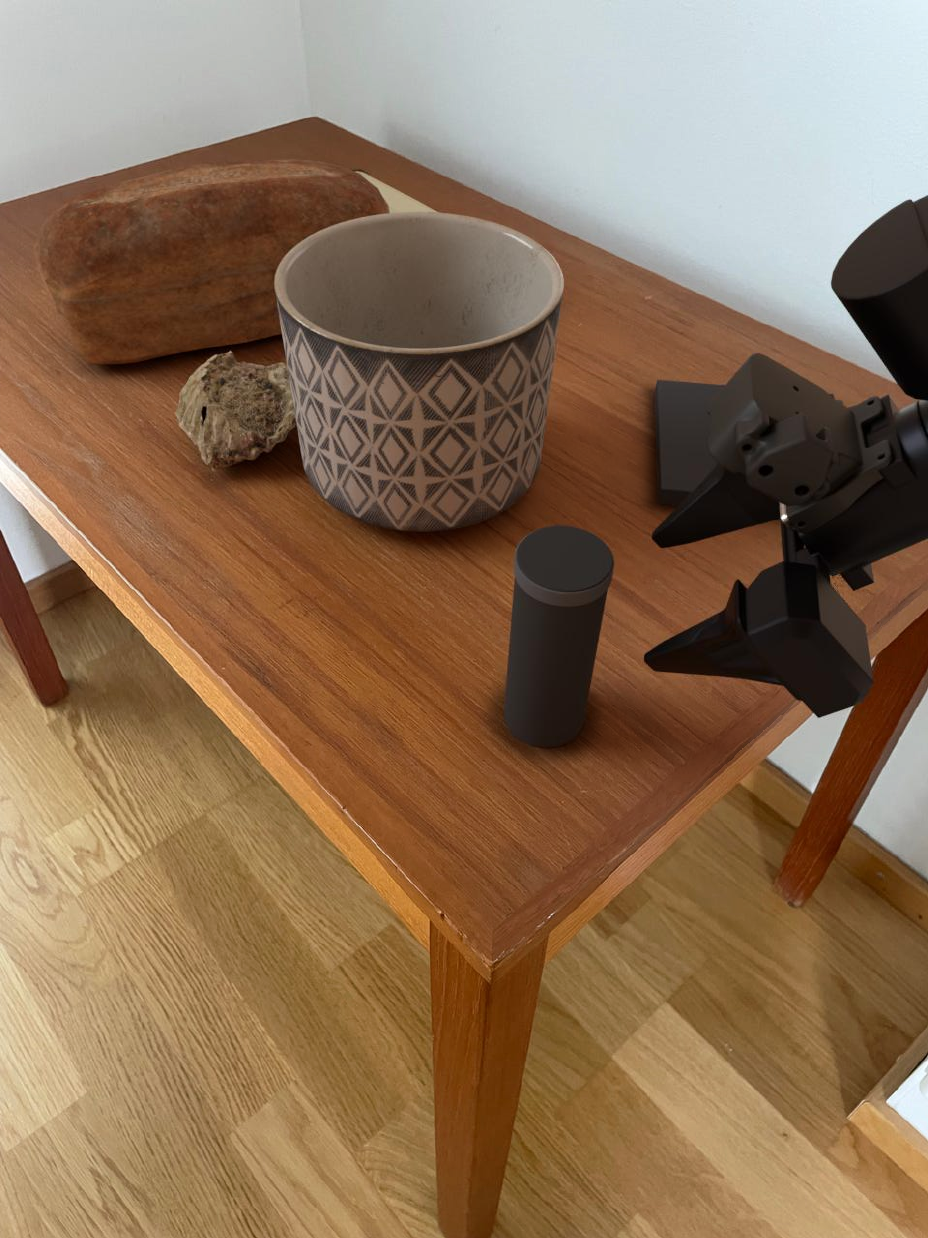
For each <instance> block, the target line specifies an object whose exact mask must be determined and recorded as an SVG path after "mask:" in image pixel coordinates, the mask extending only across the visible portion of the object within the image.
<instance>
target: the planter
mask: <svg viewBox="0 0 928 1238" xmlns="http://www.w3.org/2000/svg"><path fill="white" fill-rule="evenodd" d="M564 284H565V280H564V275H563V271H562V269H561V267H560V265H559V263H558V261H557V260H556V259H555V257H554V256H553V255H552V254H551V253H550V252H549V251H548V250H547V248H545V247H544V246H543V245H541V244H540V243H539V242H538V241H536V240H535V239H532V238H531V237H529V236H528V235H526V234H524V233H522V232H520V231H518V230H516V229H514V228H511V227H509V226H506V225H503V224H500V223H497V222H494V221H491V220H487V219H483V218H478V217H475V216H469V215H463V214H456V213H448V212H438V211H437V212H398V213H387V214H379V215H372V216H367V217H362V218H357V219H353V220H349V221H345V222H342V223H339V224H336V225H333V226H330V227H328V228H325V229H323V230H321V231H319V232H316V233H315V234H313V235H311V236H309V237H307V238H306V239H304V240H302V241H301V242H300V243H298V244H297V245H296V246H294V247H293V248H292V249H291V250H290V251H289V252H288V253H287V254H286V255H285V257H284V258H283V259H282V261H281V262H280V264H279V266H278V268H277V271H276V274H275V280H274V285H275V293H276V299H277V305H278V311H279V318H280V324H281V330H282V334H281V336H282V342H283V347H284V348H283V349H284V354H285V362H286V365H287V367H288V374H289V380H290V386H291V392H292V399H293V405H294V411H295V417H296V424H297V426H296V428H297V429H296V431H297V435H298V442H299V448H300V454H301V460H302V466H303V469H304V472H305V475H306V477H307V479H308V481H309V483H310V484H311V487H313V489H314V490H315V491H316V493H317V494H318V495H319V496H320V497H321V498H322V499H323V500H324V501H325V502H326V503H328V504H329V506H331V507H333V508H335V509H336V510H338V511H339V512H341V513H342V514H344V515H346V516H348V517H350V518H352V519H354V520H357V521H359V522H361V523H362V522H363V523H365V524H368V525H371V526H374V527H379V528H383V529H388V530H393V531H394V530H395V531H400V532H412V533H413V532H414V533H419V532H420V533H422V532H423V533H425V532H427V533H428V532H443V531H449V530H455V529H461V528H464V527H468V526H472V525H475V524H478V523H481V522H483V521H486V520H489V519H491V518H492V517H494V516H497V515H499V514H501V513H502V512H504V511H505V510H507V509H509V508H510V507H511V506H513V505H515V504H516V503H517V502H519V500H520V499H521V498H522V497H523V496H524V495H525V494H526V493H527V491H528V490H529V489H530V487H531V486H532V485H533V483H534V481H535V480H536V477H537V475H538V473H539V470H540V467H541V462H542V455H543V448H544V440H545V433H546V424H547V417H548V410H549V403H550V394H551V386H552V379H553V370H554V365H555V364H554V363H555V358H556V357H555V356H556V350H557V349H556V348H557V342H558V341H557V340H558V333H559V325H560V320H561V319H560V318H561V310H562V303H563V297H564V287H565V285H564Z"/></svg>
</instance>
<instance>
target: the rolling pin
mask: <svg viewBox="0 0 928 1238" xmlns="http://www.w3.org/2000/svg"><path fill="white" fill-rule="evenodd" d="M348 169H349V170H352V171H354V172H357V173H360V174H361V175H362V176H363V177H364V178H366V179H367V180H368V181H369V182H371V183H372V184H373V185H374V186H376V187H377V188H378V190H379V191H380V193H381V195H382V197H383V198H384V199H385V201H386V202H387V204H388V205H389V211H390V213H398V212H438V211H436V210H435V209H433V208H431V207H429V206H428V205H426V204H424V203H422V202H420V201H418V200H416V199H414V198H413V197H411V196H409V195H407V194H405V193H403V192H402V191H400V190H398V189H396V188H395V187H392V186H390V185H388V184H387V183H385V182H382V181H381V180H379V179H377V178H375V177H373V176H372V175H371V174H370V173H368V172H366V170H364V169H362V168H360V167H355V168H353V167H352V168H348Z"/></svg>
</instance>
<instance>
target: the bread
mask: <svg viewBox="0 0 928 1238" xmlns="http://www.w3.org/2000/svg"><path fill="white" fill-rule="evenodd" d="M349 169H350V168H347V167H344V166H341V165H337V164H332V163H329V162H328V163H327V162H324V161H318V160H309V159H297V158H290V159H289V158H288V159H286V158H285V159H254V160H241V161H240V160H239V161H221V162H205V163H203V162H202V163H196V164H189V165H184V166H180V167H175V168H171V169H167V170H163V171H162V170H161V171H158V172H155V173H150V174H146V175H143V176H140V177H139V176H138V177H136V178H133V179H129V180H125V181H121V182H118V183H114V184H110V185H108V186H105V187H101V188H98V189H95V190H91V191H88V192H85V193H82V194H79V195H76V196H75V197H73V198H71V199H69V200H67V201H65V202H64V203H62V204H61V205H60V206H58V207H57V208H56V209H55V210H53V211H52V213H50V214H49V216H48V217H47V219H46V220H45V221H44V223H43V224H42V225H41V226H40V228H39V231H38V233H37V235H36V238H35V240H34V243H33V254H34V259H35V263H36V267H37V269H38V272H39V274H40V278H41V280H42V282H43V284H44V285H45V288H46V290H47V292H48V293H49V295H50V297H51V299H52V301H53V303H54V307H55V309H56V311H57V315H58V318H59V321H60V323H61V325H62V327H63V330H64V331H65V334H66V335H67V338H68V340H69V342H70V344H71V345H72V347H73V349H74V351H75V352H76V354H77V355H78V356H79V357H80V358H82V359H83V360H84V361H86V362H87V363H89V364H91V365H103V366H104V365H124V364H125V365H126V364H136V363H140V362H145V361H148V360H152V359H156V358H160V357H165V356H169V355H175V354H180V353H181V354H182V353H185V352H191V351H197V350H202V349H209V348H216V347H225V346H230V345H238V344H243V343H249V342H253V341H254V342H255V341H259V340H262V339H267V338H271V337H274V336H279V335H282V330H281V324H280V318H279V311H278V305H277V299H276V293H275V285H274V280H275V274H276V271H277V268H278V266H279V264H280V262H281V261H282V259H283V258H284V257H285V255H286V254H287V253H288V252H289V251H290V250H291V249H292V248H293V247H294V246H296V245H297V244H298V243H300V242H301V241H302V240H304V239H306V238H307V237H309V236H311V235H313V234H315V233H316V232H319V231H321V230H323V229H325V228H328V227H330V226H333V225H336V224H339V223H342V222H345V221H349V220H353V219H357V218H362V217H367V216H372V215H379V214H387V213H390V211H389V205H388V204H387V202H386V201H385V199H384V198H383V197H382V195H381V193H380V191H379V190H378V188H377V187H376V186H374V185H373V184H372V183H371V182H369V181H368V180H367V179H366V178H364V177H363V176H362V175H361V174H360V173H357V172H354V171H352V170H349Z"/></svg>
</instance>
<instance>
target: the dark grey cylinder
mask: <svg viewBox="0 0 928 1238" xmlns="http://www.w3.org/2000/svg"><path fill="white" fill-rule="evenodd" d="M614 557H615V556H614V555H613V552H612V550H611V548H610V547H609V546H608V544H607V543H606V542H605V541H604V540H603V539H602V538H600V537H599V536H597V535H596V534H595V533H593V532H591V531H588V530H586V529H584V528H580V527H577V526H572V525H560V524H559V525H558V524H557V525H549V526H544V527H541V528H538V529H535V530H533V531H531V532H530V533H528V534H527V535H525V536H524V537H523V538H522V539H521V540H520V541H519V542H518V544H517V546H516V548H515V552H514V559H513V575H514V583H513V593H512V594H513V596H512V609H511V617H510V618H511V620H510V630H509V644H508V655H507V656H508V657H507V667H506V668H507V669H506V670H507V671H506V681H505V692H504V704H503V705H504V706H503V718H504V723H505V725H506V727H507V729H508V730H509V731H510V732H511V734H512V735H513V736H514V737H515V738H517V739H518V740H520V741H521V742H523V743H525V744H526V745H530V746H533V747H538V748H544V749H545V748H557V747H560V746H564V745H566V744H567V743H570V742H572V740H573V739H574V740H575V738H576V737H577V736H578V735H579V733H580V732H581V731H582V729H583V726H584V722H585V717H586V713H587V712H586V711H587V708H588V707H587V706H588V702H589V694H590V690H591V685H592V679H593V673H594V668H595V663H596V657H597V652H598V648H599V647H598V646H599V641H600V636H601V635H600V634H601V630H602V625H603V620H604V619H603V618H604V613H605V610H606V609H605V608H606V602H607V596H608V591H609V588H610V586H611V584H612V580H613V576H614V575H613V574H614V569H615V558H614Z"/></svg>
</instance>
